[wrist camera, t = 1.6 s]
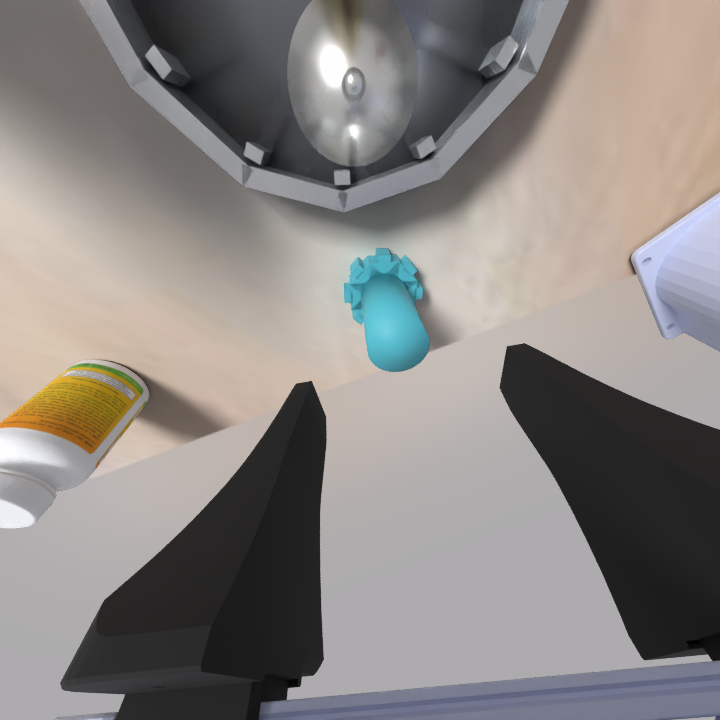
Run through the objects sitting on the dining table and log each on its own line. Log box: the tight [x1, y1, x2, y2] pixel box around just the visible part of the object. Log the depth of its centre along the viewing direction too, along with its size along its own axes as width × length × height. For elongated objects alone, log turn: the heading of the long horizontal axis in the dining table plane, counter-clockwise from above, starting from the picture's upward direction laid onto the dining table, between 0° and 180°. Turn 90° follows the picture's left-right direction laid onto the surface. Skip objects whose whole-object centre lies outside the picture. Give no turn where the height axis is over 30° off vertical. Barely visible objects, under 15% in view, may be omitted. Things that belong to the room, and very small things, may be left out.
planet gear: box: [344, 248, 430, 372], centre depth 15 cm, size 5×5×7 cm
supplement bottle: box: [0, 360, 149, 528], centre depth 18 cm, size 5×5×10 cm
